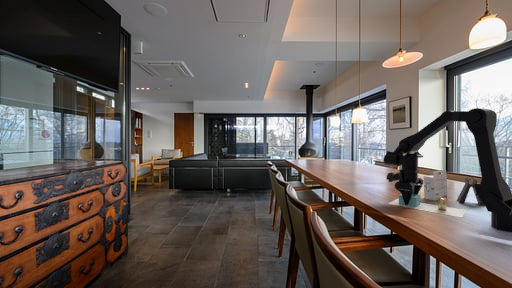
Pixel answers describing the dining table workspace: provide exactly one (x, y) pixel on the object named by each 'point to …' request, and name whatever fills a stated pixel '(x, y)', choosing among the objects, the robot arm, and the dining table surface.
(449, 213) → the board
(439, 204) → the cylinder
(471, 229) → the dining table surface
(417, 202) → the collar
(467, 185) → the phone stand
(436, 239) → the dining table surface
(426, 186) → the ink cartridge box
